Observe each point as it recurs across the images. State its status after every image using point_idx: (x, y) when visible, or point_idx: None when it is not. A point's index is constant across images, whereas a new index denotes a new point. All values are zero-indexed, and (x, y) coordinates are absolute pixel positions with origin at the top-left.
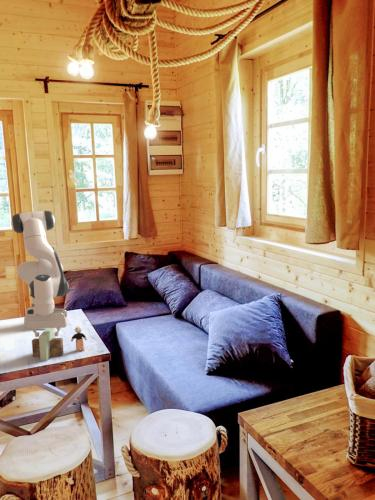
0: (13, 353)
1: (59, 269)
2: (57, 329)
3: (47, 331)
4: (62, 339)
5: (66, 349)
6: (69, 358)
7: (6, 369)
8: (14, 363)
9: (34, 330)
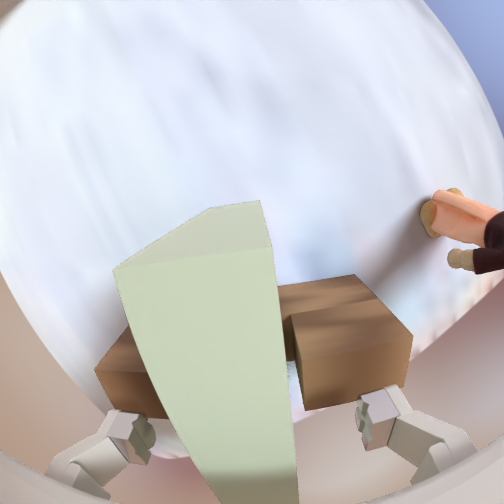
0: (38, 294)
1: None
2: (422, 476)
3: (261, 474)
4: (405, 331)
5: (349, 194)
6: None
7: None
8: None
9: (99, 483)
